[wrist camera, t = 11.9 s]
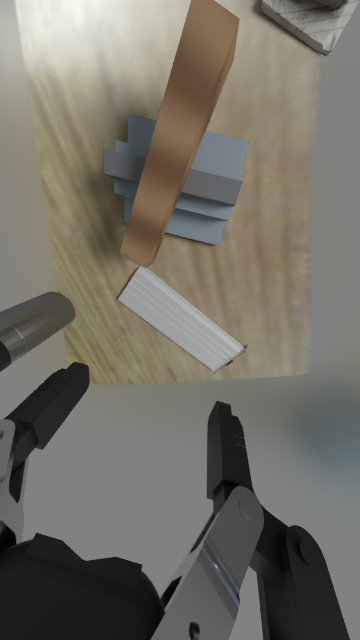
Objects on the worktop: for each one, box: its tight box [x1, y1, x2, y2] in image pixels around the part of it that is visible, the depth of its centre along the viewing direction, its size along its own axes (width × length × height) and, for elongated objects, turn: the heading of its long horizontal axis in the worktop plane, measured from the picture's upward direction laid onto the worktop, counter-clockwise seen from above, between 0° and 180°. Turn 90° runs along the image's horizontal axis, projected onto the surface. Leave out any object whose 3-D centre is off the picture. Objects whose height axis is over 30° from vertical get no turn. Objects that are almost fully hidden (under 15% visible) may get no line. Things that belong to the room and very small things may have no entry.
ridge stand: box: [103, 114, 250, 245], centre depth 26 cm, size 14×18×9 cm
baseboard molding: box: [118, 266, 248, 373], centre depth 42 cm, size 31×3×12 cm
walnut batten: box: [119, 0, 239, 268], centre depth 21 cm, size 22×4×4 cm, turn 154°
